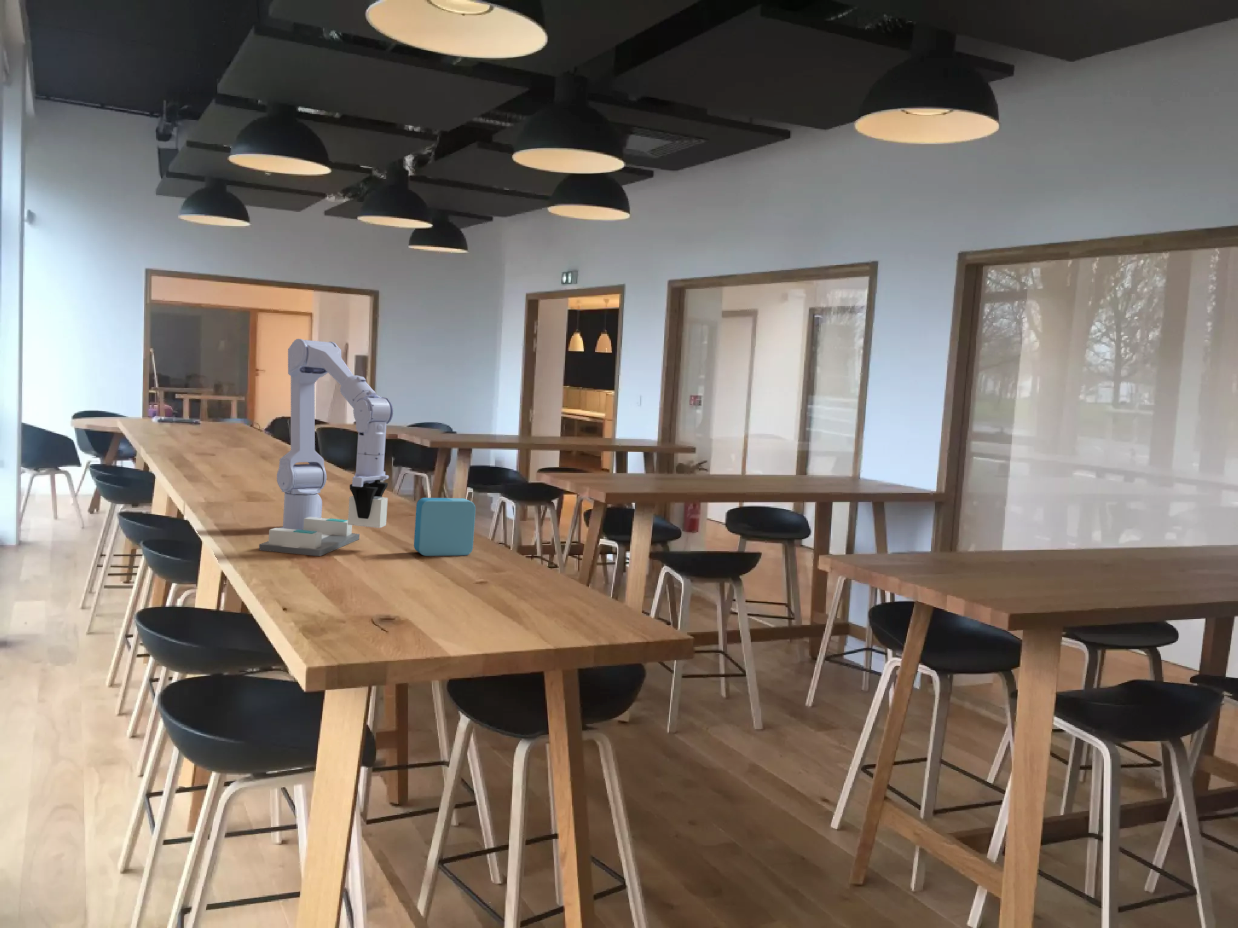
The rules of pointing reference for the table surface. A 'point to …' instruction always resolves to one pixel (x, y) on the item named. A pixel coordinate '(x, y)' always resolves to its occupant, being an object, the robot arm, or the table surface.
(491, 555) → the table surface
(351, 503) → the block
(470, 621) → the table surface
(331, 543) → the rail board
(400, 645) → the table surface
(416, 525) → the data package
